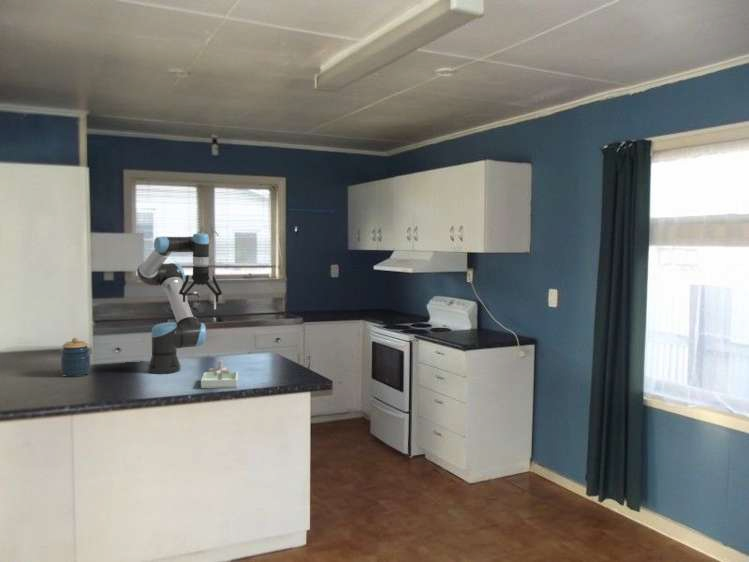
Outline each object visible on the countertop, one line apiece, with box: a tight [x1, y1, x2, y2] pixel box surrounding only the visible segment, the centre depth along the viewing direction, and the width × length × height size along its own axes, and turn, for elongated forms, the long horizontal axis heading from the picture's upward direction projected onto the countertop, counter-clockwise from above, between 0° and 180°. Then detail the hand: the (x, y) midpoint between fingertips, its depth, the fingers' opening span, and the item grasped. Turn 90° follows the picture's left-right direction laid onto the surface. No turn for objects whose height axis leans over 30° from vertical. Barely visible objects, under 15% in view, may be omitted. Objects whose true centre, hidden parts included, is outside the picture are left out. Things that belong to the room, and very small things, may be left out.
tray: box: [200, 371, 239, 389], centre depth 295 cm, size 16×16×4 cm
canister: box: [59, 337, 91, 377], centre depth 306 cm, size 13×13×18 cm
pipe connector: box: [208, 359, 232, 380], centre depth 294 cm, size 10×10×10 cm
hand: (200, 308), depth 314 cm, fingers open, 13 cm apart
